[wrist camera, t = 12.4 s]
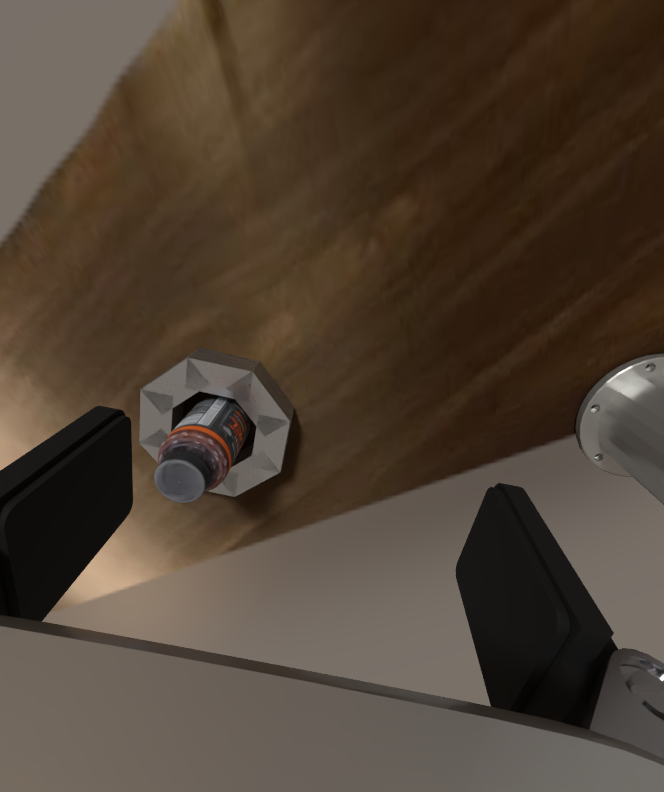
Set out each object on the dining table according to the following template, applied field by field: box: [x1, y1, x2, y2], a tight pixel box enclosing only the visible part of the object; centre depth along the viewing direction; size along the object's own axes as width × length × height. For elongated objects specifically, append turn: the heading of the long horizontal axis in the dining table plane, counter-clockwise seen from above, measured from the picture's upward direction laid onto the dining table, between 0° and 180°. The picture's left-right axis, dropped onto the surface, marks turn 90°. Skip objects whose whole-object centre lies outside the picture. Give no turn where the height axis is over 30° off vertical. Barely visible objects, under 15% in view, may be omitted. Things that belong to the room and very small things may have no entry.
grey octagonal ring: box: [139, 348, 295, 497], centre depth 39 cm, size 14×14×4 cm
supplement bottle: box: [154, 394, 251, 503], centre depth 35 cm, size 6×6×11 cm
